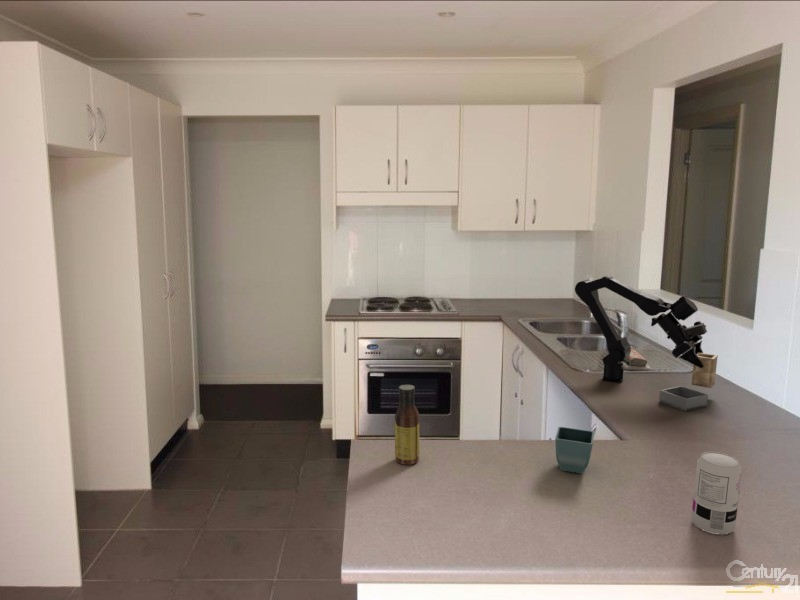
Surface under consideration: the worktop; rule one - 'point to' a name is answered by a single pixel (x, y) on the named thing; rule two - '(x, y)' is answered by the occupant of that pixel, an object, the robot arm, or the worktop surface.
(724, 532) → the supplement can
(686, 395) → the grey square tray
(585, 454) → the flower pot
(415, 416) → the sauce bottle
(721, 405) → the worktop surface
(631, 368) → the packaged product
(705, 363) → the tall pine crate
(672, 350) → the robot arm
